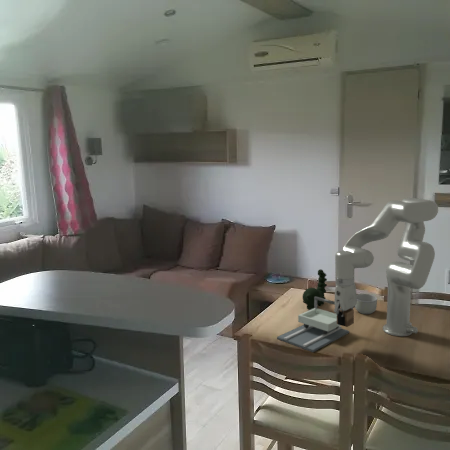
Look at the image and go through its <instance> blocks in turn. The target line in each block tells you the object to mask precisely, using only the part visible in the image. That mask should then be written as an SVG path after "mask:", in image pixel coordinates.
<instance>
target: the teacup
mask: <svg viewBox="0 0 450 450" xmlns="http://www.w3.org/2000/svg"><path fill="white" fill-rule="evenodd" d="M356 295H357V304H356V305H355V306H354V308H353V309H355V310H356V311H357V312H358V313H360V314H361V315H371V314H373V313H374V312H375V311H376V310H377V307H378V306H377V305H378V297H377V296H376V295H374V294H370V293H358V294H357V293H356Z"/></svg>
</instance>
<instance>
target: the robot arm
mask: <svg viewBox="0 0 450 450" xmlns="http://www.w3.org/2000/svg"><path fill="white" fill-rule="evenodd" d="M438 214H439V206H438V204H437V203H436V201H433V200H431V199H423V198H415V197H406V198H405V197H404V198H403V199H401V200H390V201H387V202H386V204H385V205H384V207H383V208H382V209H381V210H380V211H379V213H378V215H377V216H376V217H375V219H374V220H373V221H372V222H371V224H370V225H368V226H366V227H364V228H362V229H361V230H359V231H357V232H356V233H354V234H353V235H352V236H351V237H350V238H349V239H348V240H347V242H346V243H345V244H344V246H343V247H342V249H341V250H338V251H336V252H335V255H334V259H335V260H334V261H335V262H334V264H335V275H334V276H335V277H334V278H335V288H334V289H335V290H334V301H335V305H334V308H333V313H336V314H337V316H338V325H340V326H341V327H345V317H344V313H345V311H346V310H348V309H353V310H354V309H355V308H354V306H355V305H356V304H357V287H356V283H355V269H364V268H369V267H370V266H371V265H373V263H374V259H375V256H374V254H373V252H372V251H370V250H368V249H365V248H362V247H363V246H365V245H367V244H369V243H372V242H377V241H382V240H384V239H387V238H388V237H389V236H390V234H391V233H392V231H393V230H394V229H395V228H396V226H397V225H398V224H399V222H401V223H402V222H403V223H404V229H403V232H402V235H401V239H400V241H399V244H398V247H397V251H396V252H397V256H398V258H400V259H402V260H404V261H409V262H411V263H413V265H412V264H410V263H406V262H403V261H393V262H390V263H389V264H388V265H387V267H386V271H385V275H386V282H387V301H386V302H387V305H386V323H385V324H384V325H383V326H382V330H383V332H384V333H385V334H388V335H391V336H394V337H408V336H411V335H412V334H418V331H419V330H418V327H417V326H413V325H412V322H411V321H410V318H411V314H410V313H411V299H412V298H411V297H412V296H411V295H412V294H411V289H413V290H420V289H422V288H423V287H424V286H425V285H426V283H427V280H428V277H429V275H430V272H431V269H432V266H433V264H434V262H435V261H434V260H435V255H436V254H435V253H436V251H435V247H434V246H433V245H432V244H430V243H429V242H426V241H423V240H424V237H425V234H426V227H425V223H424V222H429V221H432V220H434V219H435V218H436V216H437V215H438ZM340 310H342V313H341V312H340Z"/></svg>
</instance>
